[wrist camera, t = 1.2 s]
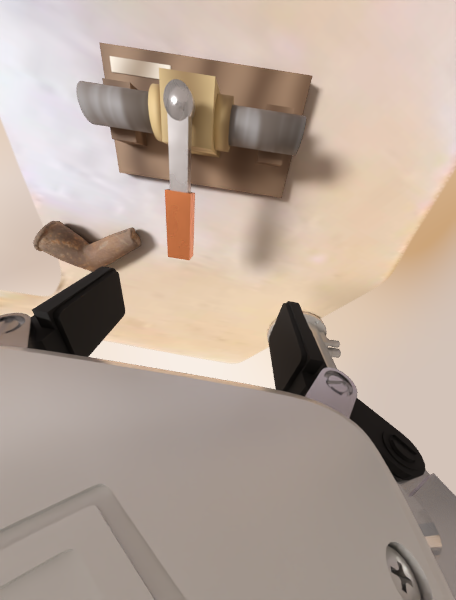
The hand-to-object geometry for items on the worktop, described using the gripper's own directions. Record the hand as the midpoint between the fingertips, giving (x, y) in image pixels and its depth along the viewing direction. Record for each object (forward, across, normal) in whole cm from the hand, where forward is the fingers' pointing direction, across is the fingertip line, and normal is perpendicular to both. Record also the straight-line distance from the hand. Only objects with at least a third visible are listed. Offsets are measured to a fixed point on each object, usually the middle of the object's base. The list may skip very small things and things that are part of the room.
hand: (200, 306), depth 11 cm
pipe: (+25, +23, +7) cm, 35 cm away
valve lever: (+14, +5, -4) cm, 16 cm away
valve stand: (+24, +5, -10) cm, 27 cm away
